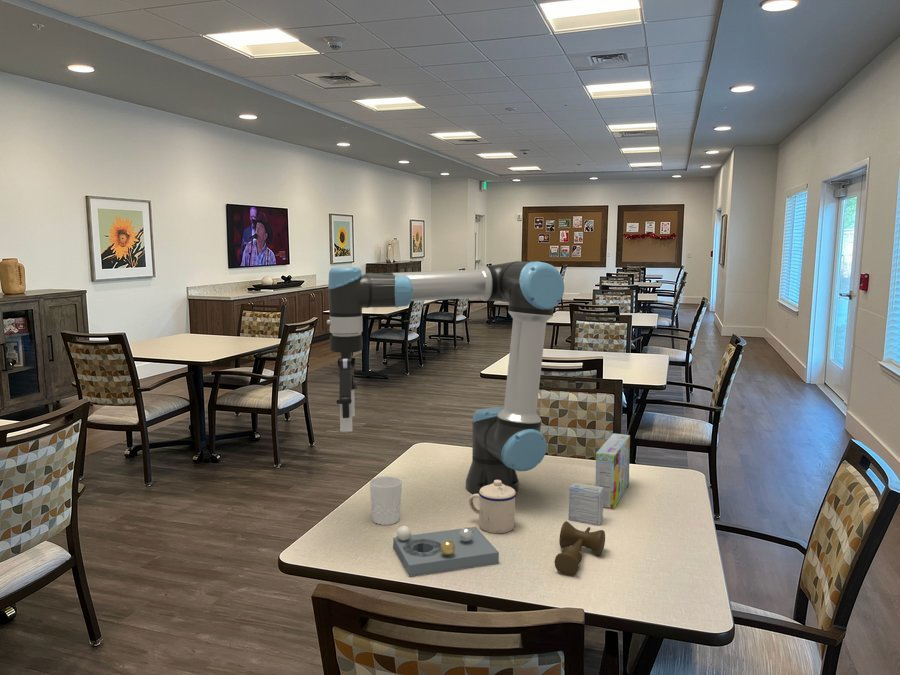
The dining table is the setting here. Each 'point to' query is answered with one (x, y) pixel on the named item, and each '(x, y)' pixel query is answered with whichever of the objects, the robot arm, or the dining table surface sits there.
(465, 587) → the dining table surface
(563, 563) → the kendama
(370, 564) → the dining table surface
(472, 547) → the gray ball tray
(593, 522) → the medicine box
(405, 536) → the white ball
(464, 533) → the steel ball
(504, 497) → the teacup with lid
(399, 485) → the white cup
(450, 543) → the brass ball
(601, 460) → the snack box
